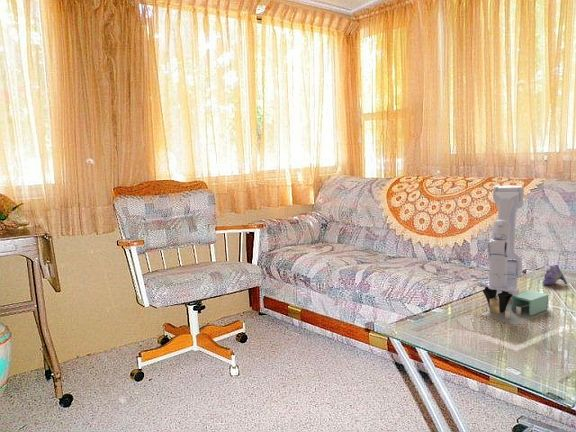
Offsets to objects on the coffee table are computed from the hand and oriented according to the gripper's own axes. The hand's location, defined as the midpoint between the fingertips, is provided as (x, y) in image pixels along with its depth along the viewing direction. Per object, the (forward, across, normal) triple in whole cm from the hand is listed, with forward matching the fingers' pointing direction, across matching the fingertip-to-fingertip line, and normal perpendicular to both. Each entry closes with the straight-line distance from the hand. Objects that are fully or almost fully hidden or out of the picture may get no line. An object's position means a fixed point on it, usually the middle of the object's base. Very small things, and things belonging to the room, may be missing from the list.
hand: (497, 310), depth 165 cm
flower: (+2, -7, +49) cm, 49 cm away
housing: (0, +6, +9) cm, 11 cm away
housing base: (+2, +4, +4) cm, 6 cm away
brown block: (0, 0, 0) cm, 0 cm away
